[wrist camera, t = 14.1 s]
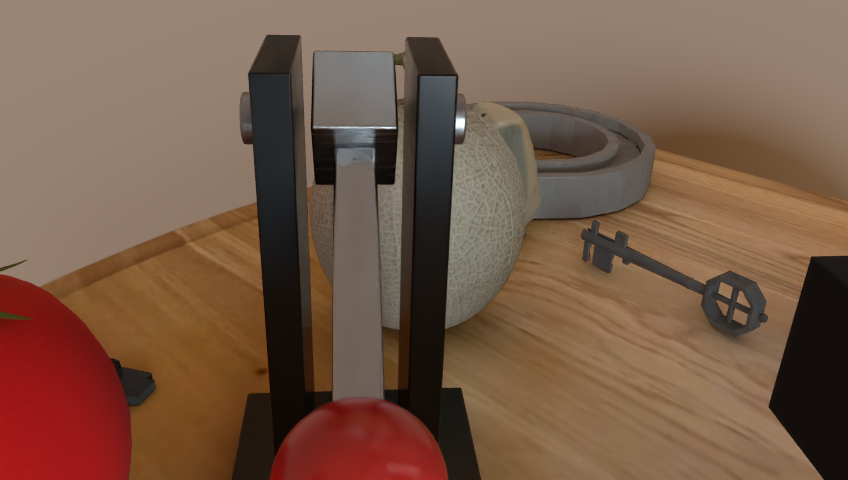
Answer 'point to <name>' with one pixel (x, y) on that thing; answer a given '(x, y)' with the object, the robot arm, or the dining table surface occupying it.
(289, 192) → the bracket
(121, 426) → the tomato
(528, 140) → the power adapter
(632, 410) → the dining table surface
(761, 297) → the key
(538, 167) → the mechanical component
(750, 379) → the dining table surface
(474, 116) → the fruit
